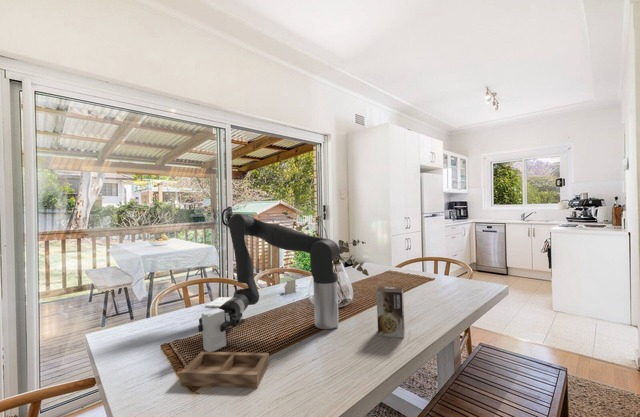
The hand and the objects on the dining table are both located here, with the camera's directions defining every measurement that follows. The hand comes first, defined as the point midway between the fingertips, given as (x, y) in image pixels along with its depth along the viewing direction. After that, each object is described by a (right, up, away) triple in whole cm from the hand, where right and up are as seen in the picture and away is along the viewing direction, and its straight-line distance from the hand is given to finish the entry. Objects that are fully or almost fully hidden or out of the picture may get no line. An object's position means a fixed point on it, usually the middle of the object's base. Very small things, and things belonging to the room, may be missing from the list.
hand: (210, 329), depth 96 cm
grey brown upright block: (+61, -7, +12) cm, 62 cm away
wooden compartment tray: (+9, -8, -12) cm, 17 cm away
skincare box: (+1, -7, +2) cm, 8 cm away
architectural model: (+19, -8, +67) cm, 70 cm away
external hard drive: (-14, -9, +52) cm, 55 cm away
